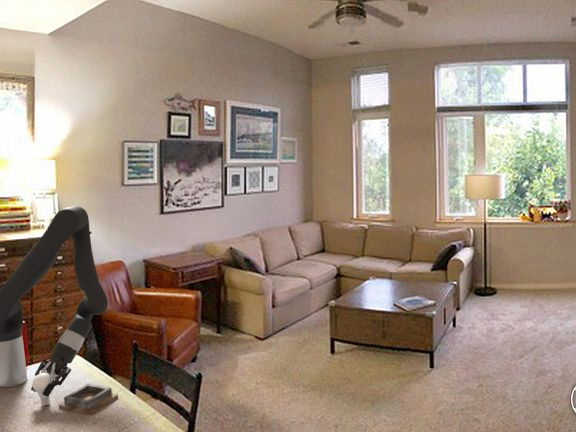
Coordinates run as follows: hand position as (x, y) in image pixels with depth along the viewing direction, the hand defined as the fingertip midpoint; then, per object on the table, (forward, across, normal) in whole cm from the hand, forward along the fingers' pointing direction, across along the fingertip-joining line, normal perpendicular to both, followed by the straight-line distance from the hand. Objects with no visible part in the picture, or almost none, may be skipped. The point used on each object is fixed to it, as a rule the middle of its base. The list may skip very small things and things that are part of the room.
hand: (39, 393), depth 167 cm
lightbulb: (+2, 0, +5) cm, 5 cm away
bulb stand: (-3, +12, +10) cm, 16 cm away
